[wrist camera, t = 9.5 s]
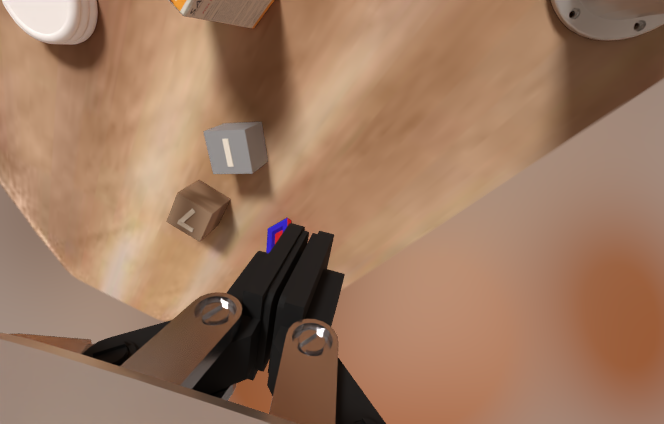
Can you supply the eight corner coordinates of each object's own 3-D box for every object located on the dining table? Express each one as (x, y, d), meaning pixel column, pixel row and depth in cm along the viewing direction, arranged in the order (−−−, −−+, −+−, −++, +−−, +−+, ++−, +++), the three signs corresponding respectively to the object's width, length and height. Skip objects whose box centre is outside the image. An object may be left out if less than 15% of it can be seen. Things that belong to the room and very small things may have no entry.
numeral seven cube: (230, 198, 46) (211, 214, 42) (218, 224, 49) (199, 242, 44) (199, 179, 46) (176, 193, 42) (188, 206, 48) (166, 222, 44)
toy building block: (287, 242, 49) (287, 290, 44) (267, 228, 47) (264, 278, 41) (306, 232, 48) (308, 280, 43) (287, 217, 45) (286, 267, 40)
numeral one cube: (262, 121, 41) (244, 130, 36) (268, 161, 43) (252, 173, 38) (224, 123, 42) (202, 131, 37) (232, 161, 44) (212, 174, 39)
